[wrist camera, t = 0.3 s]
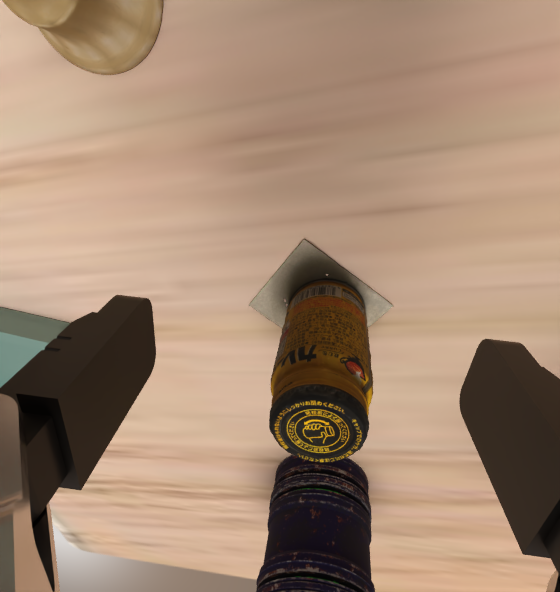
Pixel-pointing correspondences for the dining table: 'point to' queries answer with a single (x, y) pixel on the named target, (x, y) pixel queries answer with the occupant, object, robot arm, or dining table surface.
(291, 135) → the dining table surface
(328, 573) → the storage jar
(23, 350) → the tray
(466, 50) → the dining table surface
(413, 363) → the dining table surface
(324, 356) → the condiment
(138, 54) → the hand bell
